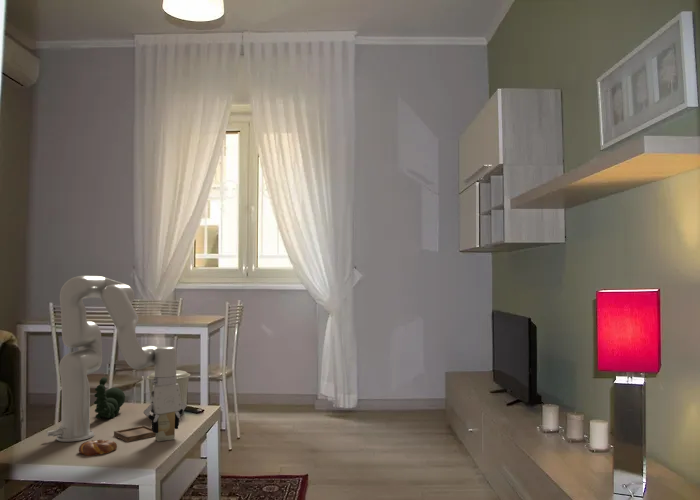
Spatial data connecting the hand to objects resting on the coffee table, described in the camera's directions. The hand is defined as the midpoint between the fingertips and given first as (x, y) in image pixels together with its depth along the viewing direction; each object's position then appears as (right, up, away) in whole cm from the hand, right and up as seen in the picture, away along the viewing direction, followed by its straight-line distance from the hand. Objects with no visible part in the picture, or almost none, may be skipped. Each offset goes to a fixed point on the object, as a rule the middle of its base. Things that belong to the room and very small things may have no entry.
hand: (165, 430), depth 211 cm
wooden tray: (-13, -4, +6) cm, 14 cm away
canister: (-11, -6, +40) cm, 42 cm away
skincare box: (0, -3, 0) cm, 3 cm away
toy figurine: (-36, -6, +38) cm, 53 cm away
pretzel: (-19, -3, -14) cm, 23 cm away
